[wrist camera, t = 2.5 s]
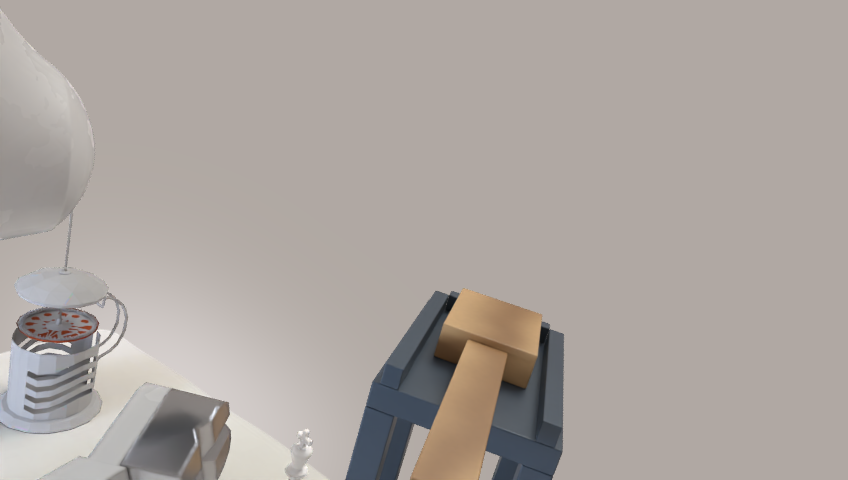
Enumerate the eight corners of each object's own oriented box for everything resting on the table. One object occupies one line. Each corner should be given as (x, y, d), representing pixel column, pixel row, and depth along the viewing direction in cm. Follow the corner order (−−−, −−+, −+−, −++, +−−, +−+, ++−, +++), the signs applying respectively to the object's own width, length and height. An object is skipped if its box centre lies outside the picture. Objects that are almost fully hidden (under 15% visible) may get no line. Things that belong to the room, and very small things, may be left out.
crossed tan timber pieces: (357, 500, 23) (371, 451, 22) (454, 316, 42) (463, 287, 42) (502, 558, 22) (520, 509, 21) (532, 343, 41) (542, 314, 41)
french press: (-23, 393, 63) (-6, 160, 56) (92, 366, 72) (119, 164, 66) (16, 445, 58) (40, 195, 51) (135, 409, 67) (169, 194, 60)
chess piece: (288, 493, 61) (309, 408, 59) (320, 524, 59) (344, 437, 56) (247, 513, 57) (268, 424, 55) (280, 547, 55) (303, 455, 52)
